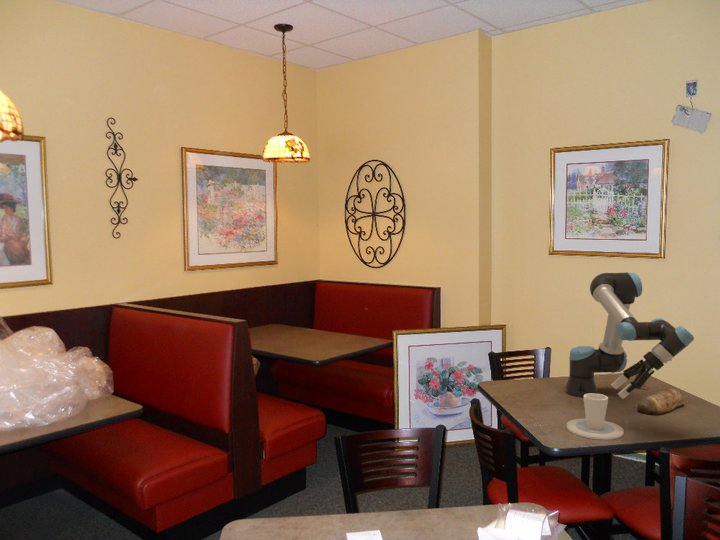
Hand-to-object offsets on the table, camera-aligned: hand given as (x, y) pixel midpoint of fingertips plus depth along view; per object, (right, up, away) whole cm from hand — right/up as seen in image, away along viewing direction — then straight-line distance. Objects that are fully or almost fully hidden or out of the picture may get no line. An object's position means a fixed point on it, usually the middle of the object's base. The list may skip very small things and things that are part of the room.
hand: (616, 391), depth 238 cm
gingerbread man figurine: (+40, -12, +64) cm, 76 cm away
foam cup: (-8, -16, +3) cm, 18 cm away
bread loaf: (+35, -15, +31) cm, 49 cm away
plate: (-8, -17, +3) cm, 19 cm away
